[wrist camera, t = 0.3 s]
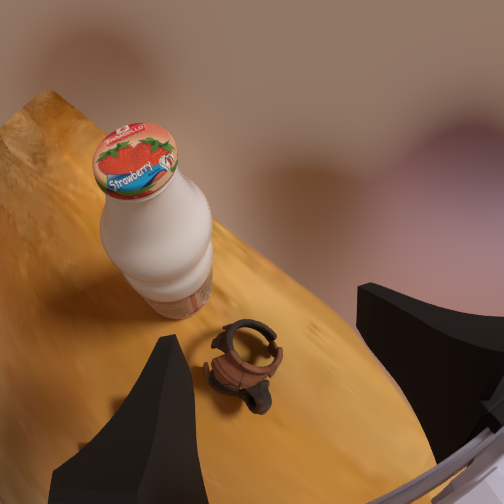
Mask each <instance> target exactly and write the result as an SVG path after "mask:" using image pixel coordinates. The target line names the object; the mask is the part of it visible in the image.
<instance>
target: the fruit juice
mask: <svg viewBox="0 0 504 504" xmlns="http://www.w3.org/2000/svg"><path fill="white" fill-rule="evenodd" d="M177 164H178V153H177V149H176V145H175V142H174V140H173V138H172V136H171V135H170V134H169V133H168V132H167V131H166V130H165V129H163V128H162V127H160V126H157V125H154V124H150V123H135V124H130V125H127V126H124V127H121V128H119V129H117V130H115V131H114V132H112V133H111V134H109V135H108V136H107V137H106V138H105V139H104V140H103V141H102V142H101V143H100V145H99V146H98V148H97V150H96V152H95V154H94V157H93V172H94V176H95V179H96V181H97V184H98V186H99V187H100V189H101V190H102V191H103V192H104V193H105V194H106V201H105V206H104V208H103V211H102V215H101V220H100V235H101V241H102V244H103V247H104V249H105V251H106V253H107V255H108V257H109V258H110V260H111V261H112V263H113V264H114V265H115V266H116V267H117V268H118V269H119V270H120V271H121V272H122V273H123V275H124V277H125V279H126V280H127V281H128V283H129V284H130V285H131V287H132V288H133V289H134V290H135V291H136V292H137V293H138V294H139V295H140V296H141V297H142V298H143V299H144V300H145V301H146V302H147V303H148V304H149V305H150V306H151V307H152V308H153V309H154V310H155V311H156V312H157V313H159V314H160V315H162V316H165V317H167V318H171V319H185V318H188V317H191V316H193V315H195V314H197V313H198V312H199V311H201V310H202V309H203V307H204V306H205V305H206V303H207V302H208V300H209V298H210V295H211V291H212V269H213V246H212V240H211V234H212V217H211V211H210V207H209V204H208V202H207V200H206V198H205V196H204V194H203V193H202V191H201V190H200V189H199V188H198V187H197V186H196V185H195V184H194V183H193V182H192V181H190V180H189V179H188V178H186V177H184V176H183V175H182V174H181V172H180V171H179V170H178V169H177Z"/></svg>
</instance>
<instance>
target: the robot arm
mask: <svg viewBox="0 0 504 504" xmlns="http://www.w3.org/2000/svg"><path fill="white" fill-rule="evenodd" d="M356 327H357V329H358V330H359V332H360V334H361V336H362V337H363V339H364V341H365V343H366V344H367V346H368V347H369V348H370V350H371V351H372V352H373V353H374V355H375V356H376V357H377V358H378V360H379V361H380V362H381V363H382V365H383V366H384V367H385V368H386V370H387V371H388V372H389V373H390V375H391V376H392V377H393V378H394V380H395V381H396V382H397V384H398V385H399V386H400V388H401V390H402V391H403V393H404V395H405V396H406V398H407V400H408V401H409V403H410V405H411V407H412V408H413V410H414V412H415V414H416V416H417V418H418V420H419V422H420V424H421V426H422V428H423V430H424V433H425V435H426V437H427V439H428V442H429V444H430V447H431V449H432V452H433V455H434V457H435V460H436V463H437V465H436V466H435V467H433V468H431V469H430V470H428V471H427V472H425V473H423V474H422V475H420V476H418V477H417V478H415V479H413V480H411V481H410V482H408V483H406V484H404V485H403V486H401V487H399V488H397V489H395V490H393V491H391V492H389V493H387V494H385V495H383V496H381V497H379V498H377V499H375V500H373V501H371V502H368V503H366V504H410V503H412V502H414V501H415V500H417V499H419V498H421V497H422V496H424V495H425V494H427V493H429V492H430V491H432V490H433V489H435V488H436V487H438V486H440V485H441V484H442V483H444V482H445V481H447V480H448V479H450V478H451V477H452V476H454V475H455V474H457V473H458V472H459V471H461V470H462V469H463V468H465V467H466V466H467V465H468V466H467V468H466V469H465V470H464V471H463V472H461V473H460V474H459V475H458V476H456V477H455V478H454V479H453V480H451V482H450V483H449V484H448V485H447V486H446V487H445V488H444V489H443V490H442V491H441V492H440V493H439V494H437V496H435V497H434V498H432V500H431V502H432V504H504V317H495V316H482V315H475V314H468V313H462V312H458V311H454V310H449V309H445V308H442V307H438V306H435V305H432V304H429V303H425V302H423V301H420V300H417V299H414V298H412V297H409V296H406V295H404V294H401V293H399V292H396V291H393V290H391V289H388V288H386V287H383V286H380V285H377V284H374V283H367V284H364V285H360V286H358V292H357V320H356ZM48 504H209V502H208V499H207V495H206V491H205V486H204V482H203V478H202V473H201V468H200V463H199V457H198V451H197V441H196V421H195V396H194V389H193V382H192V376H191V371H190V369H189V367H188V364H187V362H186V359H185V357H184V355H183V352H182V350H181V347H180V345H179V342H178V340H177V337H176V334H173V335H169V336H164V337H160V338H159V339H158V341H157V343H156V345H155V347H154V349H153V351H152V353H151V355H150V357H149V359H148V361H147V363H146V365H145V367H144V369H143V371H142V372H141V374H140V376H139V378H138V380H137V382H136V383H135V385H134V386H133V388H132V390H131V391H130V393H129V395H128V396H127V398H126V399H125V401H124V402H123V404H122V405H121V407H120V408H119V409H118V411H117V412H116V413H115V415H114V416H113V417H112V418H111V419H110V421H109V422H108V423H107V424H106V425H105V426H104V427H103V428H102V430H101V431H100V432H99V433H98V434H97V435H96V436H95V437H94V438H93V439H92V440H91V441H90V442H89V443H88V444H87V445H86V446H85V447H84V448H83V449H81V450H80V451H79V452H78V453H77V454H76V455H74V456H73V457H72V458H70V459H69V460H68V461H66V462H65V463H64V464H62V465H61V466H60V467H58V468H57V469H55V470H54V471H53V474H52V479H51V485H50V491H49V498H48Z"/></svg>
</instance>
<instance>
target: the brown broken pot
mask: <svg viewBox="0 0 504 504" xmlns="http://www.w3.org/2000/svg"><path fill="white" fill-rule="evenodd" d="M242 327H248V328H252V329H254V330H257V331H258V332H260V333H261V334H262V335H263V336H264V337H265V338H266V339H267V340H268V342H269V346H268V351H269V352H270V354H271V355H272V356H273V357H275V358H274V361H273V362H272V363H271V364H270V365H268V366H265V367H258V366H254V365H251V364H249V363H247V362H245V361H244V360H243V359H242V358H241V357H240V356H239V355H238V354H237V352H236V350H235V349H234V346H233V340H232V339H233V334H234V332H235V331H236V330H237V329H239V328H242ZM223 329H225V330H227V331H225V332H222V333H220V334H219V335H218V336H217V337H216V338H215V339H213V341H212V344H211V348H212V349H214V348H217V349H219V350H221V351H223V352H224V353H225V354H224V355H221V356H219V357H217V358H214V359H213V360H212V363H211V366H212V368H213V370H211V372H210V370H209V366H208V363H207V362H205V363H204V365H203V373H204V376H205V378H206V380H207V381H208V383H209V384H210V386H211V387H212V388H213V389H215V390H216V391H218V392H220V393H222V394H225V395H233V396H239V397H240V398H241V399H242V400H243V401H244V402H245V403H246V405H247V407H248V408H249V410H250V411H251V412H252V413H254V414H260V415H263V414H265V413H266V412H267V411H268V410H269V408H270V407H271V404H272V399H271V395H270V393H269V390H268V387H269V381H268V380H264V379H266V377H267V376H269V377H270V378H271V377H272V376H273V375H274V373H275V371H276V370H277V368H278V366H279V364H280V363H281V361H282V357H283V349H282V347H278V348H277V345H276V344H275V342H274V340H275V339H276V337H277V335H276V333H275V332H274V331H273V330H272V329H270V328H269V327H268V326H267V325H265V324H263V323H261V322H258V321H255V320H251V319H242V320H239V321H237V322H235V323H233V324H228V325H226V326H223ZM239 387H241V388H243V389H241V390H239Z"/></svg>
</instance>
